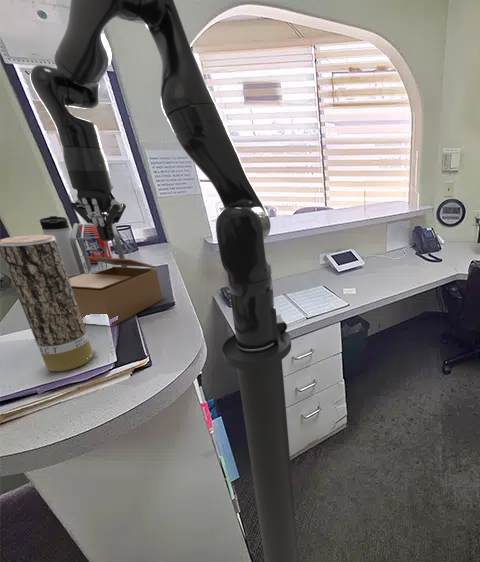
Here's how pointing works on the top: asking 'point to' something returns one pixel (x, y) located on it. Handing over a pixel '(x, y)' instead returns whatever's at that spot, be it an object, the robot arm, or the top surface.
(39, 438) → the top surface
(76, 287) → the carton
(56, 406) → the top surface
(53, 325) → the paper tube
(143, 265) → the flap
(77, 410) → the top surface
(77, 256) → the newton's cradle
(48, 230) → the travel mug
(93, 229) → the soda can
